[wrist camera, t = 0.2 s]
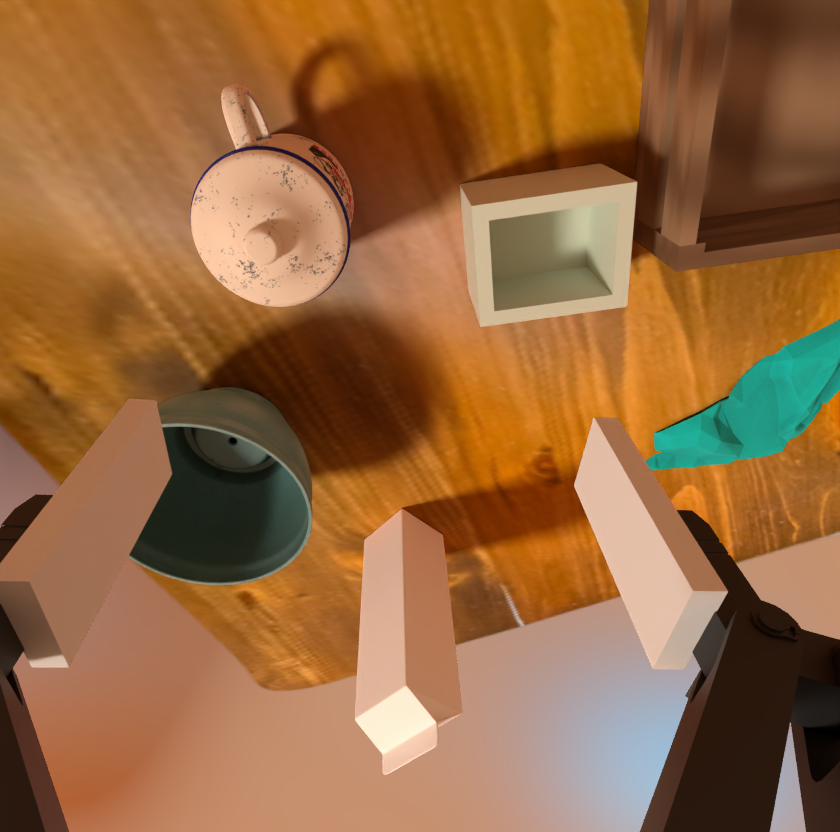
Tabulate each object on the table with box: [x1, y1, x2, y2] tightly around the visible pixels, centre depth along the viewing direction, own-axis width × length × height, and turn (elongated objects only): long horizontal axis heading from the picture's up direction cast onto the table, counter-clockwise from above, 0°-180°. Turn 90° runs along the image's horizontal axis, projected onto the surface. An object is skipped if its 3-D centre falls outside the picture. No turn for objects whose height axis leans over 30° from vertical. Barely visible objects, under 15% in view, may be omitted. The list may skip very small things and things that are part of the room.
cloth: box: [645, 320, 840, 471], centre depth 50 cm, size 26×14×2 cm, turn 119°
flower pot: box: [128, 387, 312, 585], centre depth 45 cm, size 16×16×11 cm
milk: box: [355, 509, 462, 775], centre depth 49 cm, size 6×6×22 cm
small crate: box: [460, 163, 637, 327], centre depth 38 cm, size 8×10×7 cm
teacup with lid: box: [191, 83, 354, 307], centre depth 33 cm, size 12×9×12 cm
